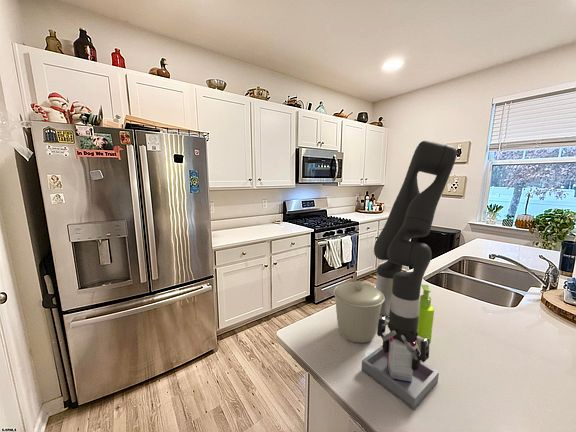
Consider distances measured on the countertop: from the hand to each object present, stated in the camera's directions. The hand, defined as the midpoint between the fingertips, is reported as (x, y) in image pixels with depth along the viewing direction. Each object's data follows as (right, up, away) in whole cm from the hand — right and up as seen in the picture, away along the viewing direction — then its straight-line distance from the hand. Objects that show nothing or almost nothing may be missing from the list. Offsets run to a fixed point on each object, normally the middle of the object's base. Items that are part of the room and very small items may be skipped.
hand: (399, 359), depth 71 cm
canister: (-7, -3, +20) cm, 22 cm away
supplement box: (0, -5, +1) cm, 5 cm away
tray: (0, -6, +1) cm, 6 cm away
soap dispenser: (+16, -3, +18) cm, 24 cm away
